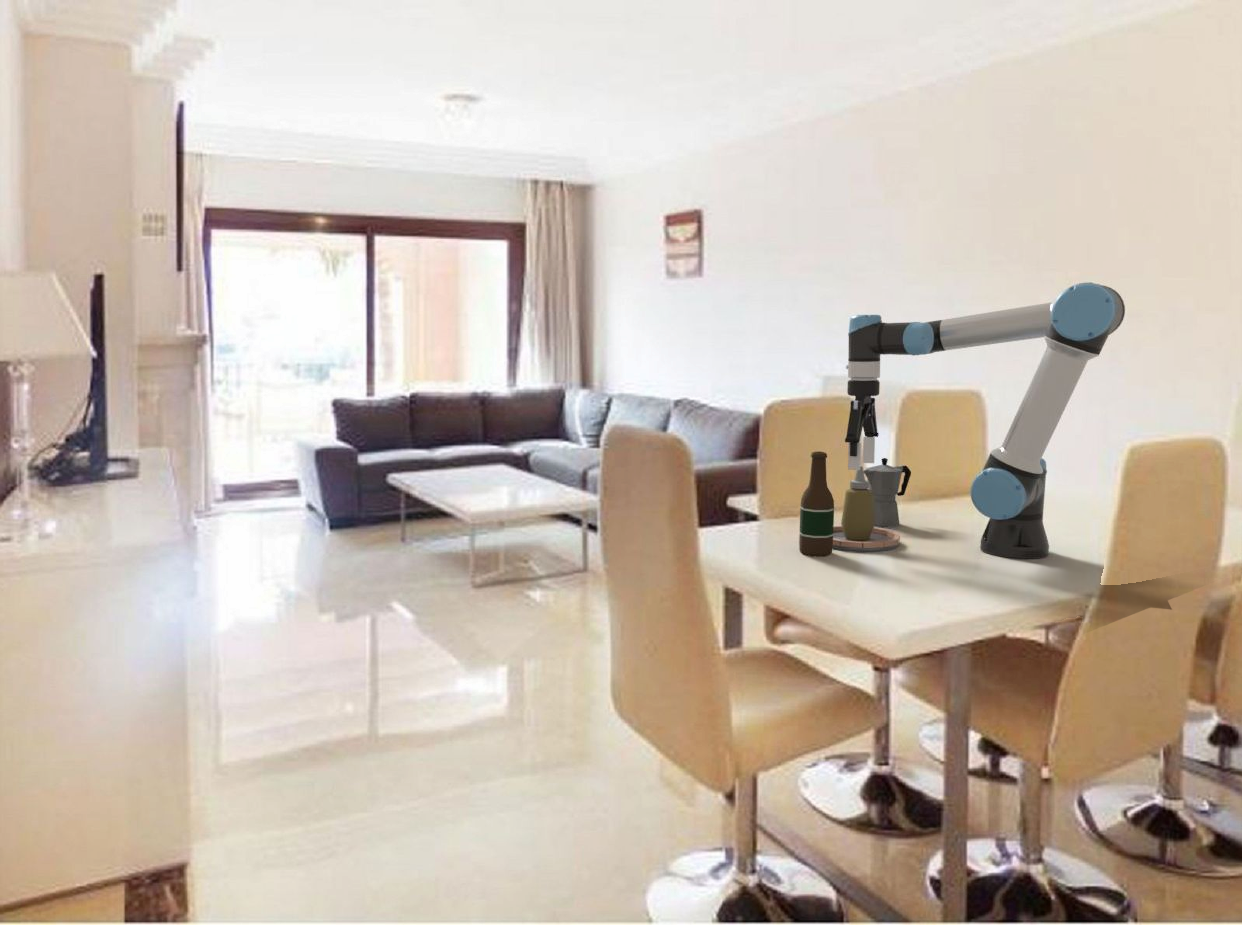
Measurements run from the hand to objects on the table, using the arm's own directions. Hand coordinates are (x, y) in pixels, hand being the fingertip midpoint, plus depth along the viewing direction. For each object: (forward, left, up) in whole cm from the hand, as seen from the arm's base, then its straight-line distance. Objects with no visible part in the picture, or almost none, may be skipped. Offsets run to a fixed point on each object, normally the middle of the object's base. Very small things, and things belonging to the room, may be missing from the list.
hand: (861, 466), depth 237 cm
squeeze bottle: (0, 0, -18) cm, 18 cm away
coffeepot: (+10, -25, -19) cm, 33 cm away
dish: (0, 0, -19) cm, 19 cm away
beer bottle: (-1, +17, -19) cm, 26 cm away
